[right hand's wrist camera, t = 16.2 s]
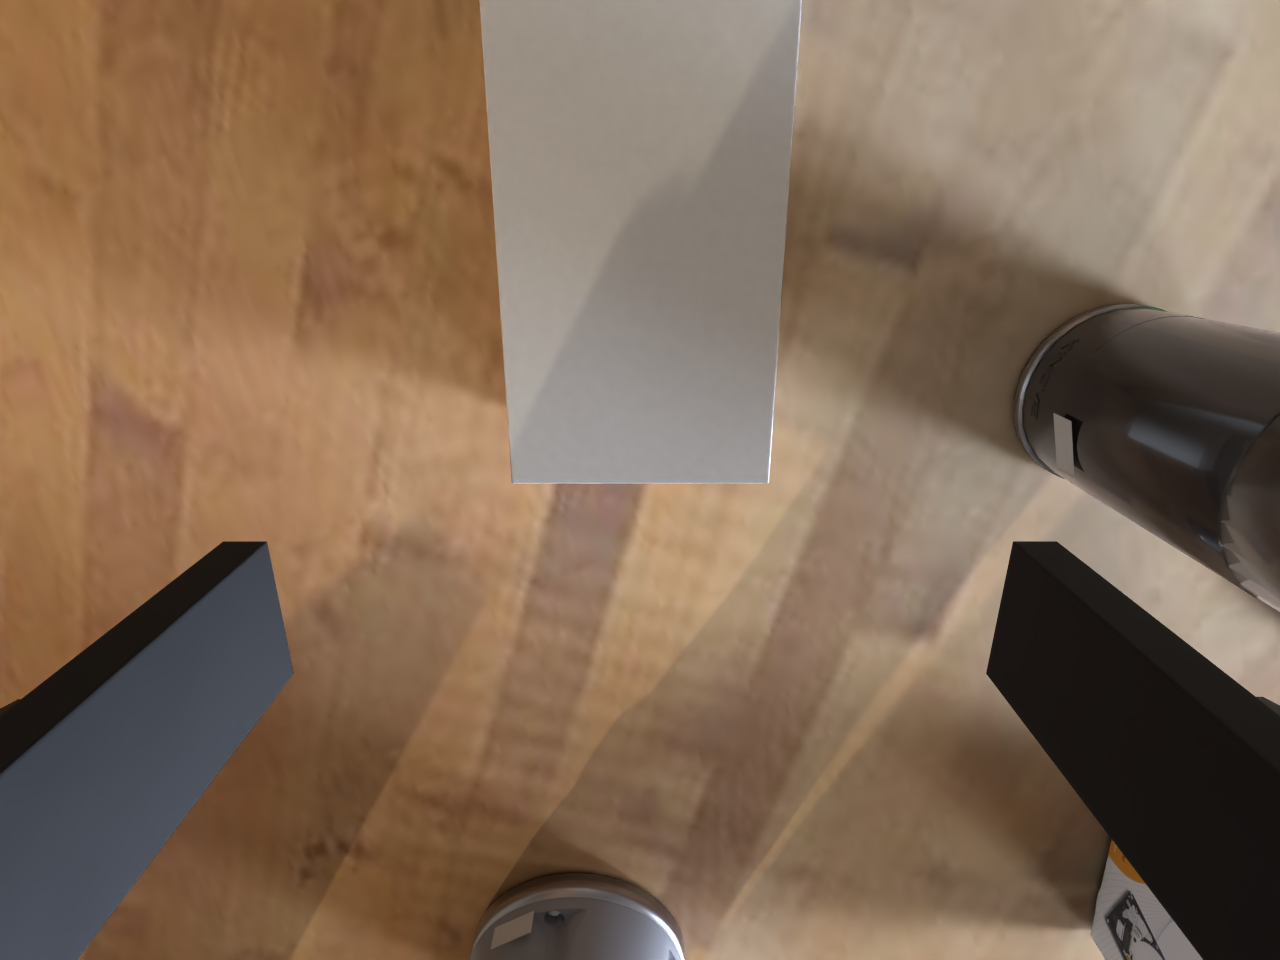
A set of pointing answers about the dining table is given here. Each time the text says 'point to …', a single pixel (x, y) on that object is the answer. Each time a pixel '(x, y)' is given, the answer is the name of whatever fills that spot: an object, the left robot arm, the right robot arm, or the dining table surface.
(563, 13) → the cabinet
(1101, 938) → the hard drive box
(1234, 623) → the dining table surface
